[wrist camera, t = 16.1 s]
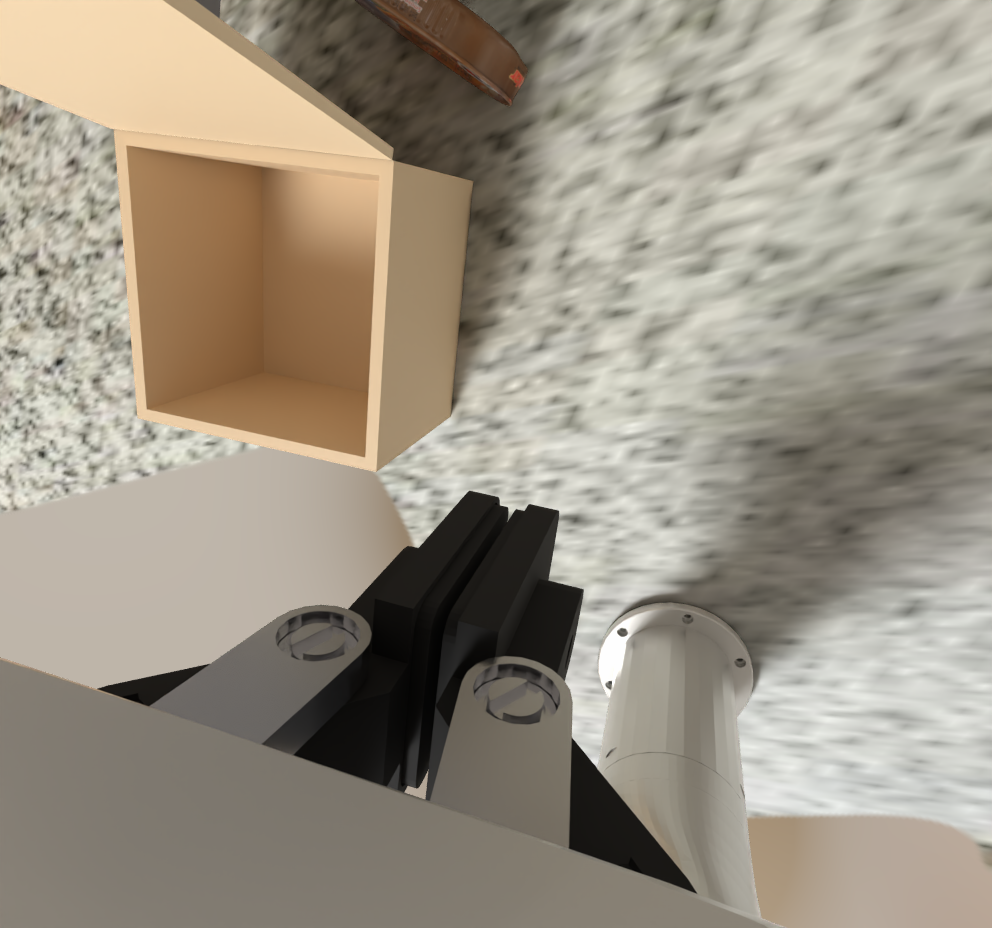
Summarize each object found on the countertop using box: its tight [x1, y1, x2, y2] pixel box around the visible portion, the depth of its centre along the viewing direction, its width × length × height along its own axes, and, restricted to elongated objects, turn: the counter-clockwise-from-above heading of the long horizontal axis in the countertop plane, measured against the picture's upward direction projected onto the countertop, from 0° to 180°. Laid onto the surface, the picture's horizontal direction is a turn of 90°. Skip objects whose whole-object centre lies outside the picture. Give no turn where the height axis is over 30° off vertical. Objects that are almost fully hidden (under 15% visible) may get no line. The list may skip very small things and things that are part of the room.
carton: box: [114, 129, 473, 472], centre depth 46 cm, size 18×18×14 cm
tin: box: [356, 0, 528, 106], centre depth 41 cm, size 15×3×8 cm, turn 57°
